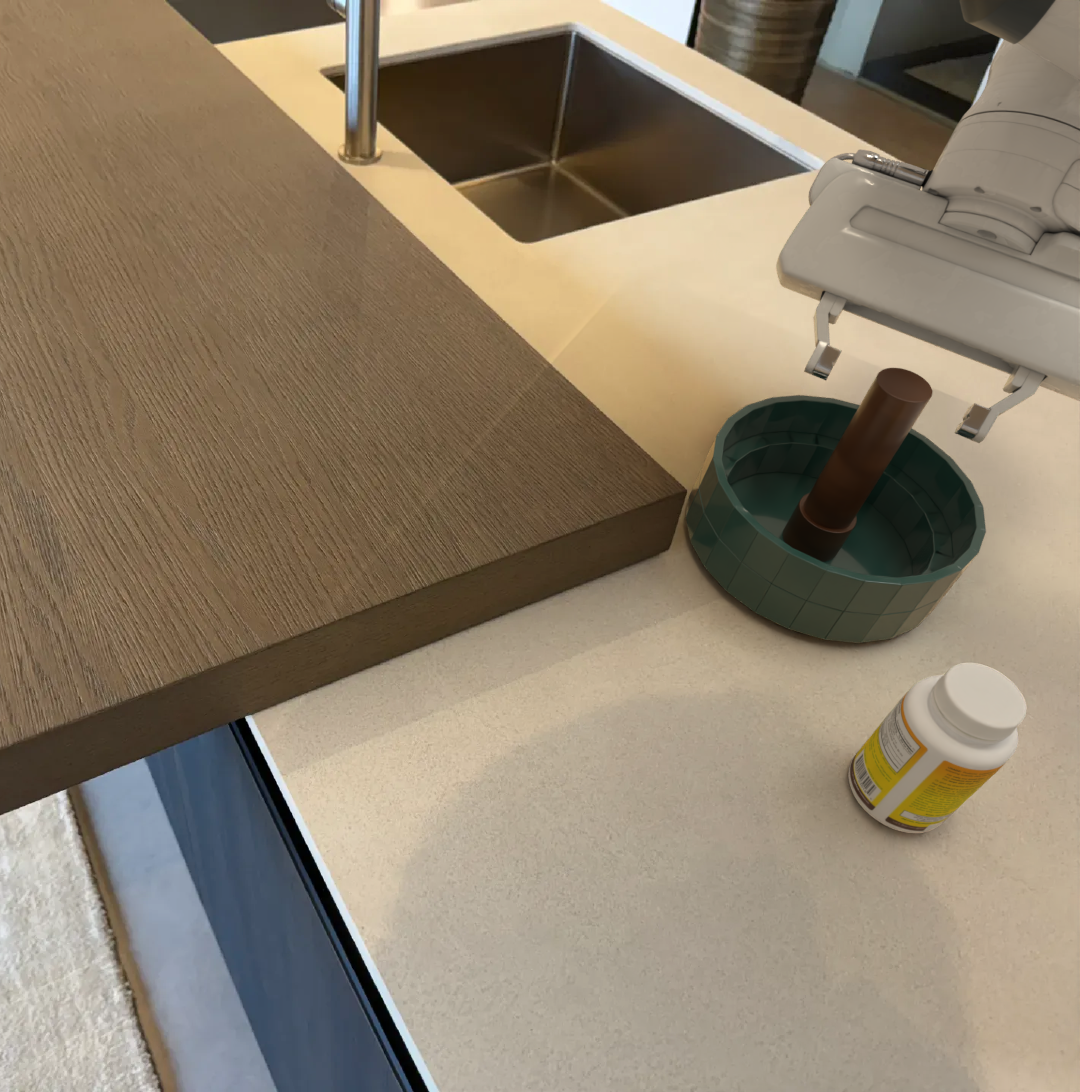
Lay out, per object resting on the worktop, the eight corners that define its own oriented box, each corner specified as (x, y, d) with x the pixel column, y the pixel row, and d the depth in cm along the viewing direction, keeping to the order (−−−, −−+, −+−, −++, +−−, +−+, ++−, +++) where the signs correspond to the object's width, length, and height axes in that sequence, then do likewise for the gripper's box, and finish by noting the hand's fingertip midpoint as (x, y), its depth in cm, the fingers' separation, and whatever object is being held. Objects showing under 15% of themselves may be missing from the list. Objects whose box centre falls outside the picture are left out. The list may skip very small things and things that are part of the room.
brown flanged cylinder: (844, 537, 72) (944, 381, 61) (829, 570, 70) (929, 414, 59) (792, 513, 73) (881, 356, 63) (775, 545, 71) (864, 387, 61)
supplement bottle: (961, 801, 59) (1065, 704, 52) (910, 856, 57) (1011, 762, 49) (877, 733, 62) (964, 631, 54) (824, 783, 59) (908, 683, 52)
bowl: (959, 530, 74) (1008, 465, 69) (900, 692, 64) (952, 630, 59) (732, 430, 80) (763, 363, 75) (645, 565, 70) (674, 499, 65)
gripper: (840, 118, 62) (730, 327, 64) (1213, 239, 56) (1079, 469, 57) (831, 160, 68) (730, 350, 70) (1166, 273, 62) (1046, 481, 63)
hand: (890, 405), depth 64 cm, fingers open, 8 cm apart
